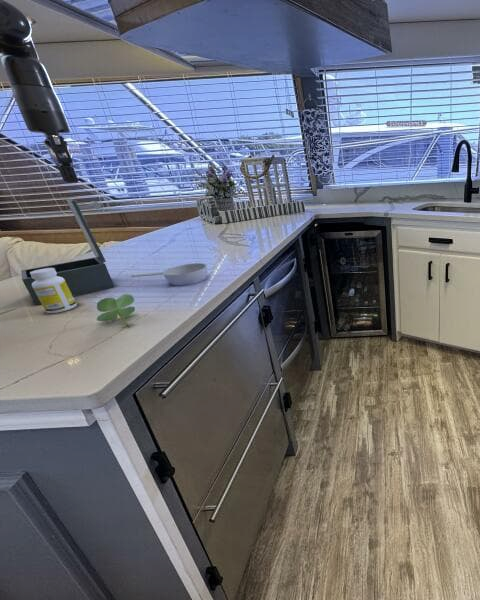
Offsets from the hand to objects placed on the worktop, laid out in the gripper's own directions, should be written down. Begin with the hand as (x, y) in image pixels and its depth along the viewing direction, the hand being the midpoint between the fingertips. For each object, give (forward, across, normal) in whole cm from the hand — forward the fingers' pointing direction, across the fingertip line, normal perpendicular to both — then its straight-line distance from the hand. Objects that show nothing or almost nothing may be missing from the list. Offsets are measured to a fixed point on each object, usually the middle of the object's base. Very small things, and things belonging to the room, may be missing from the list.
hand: (71, 182), depth 83 cm
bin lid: (+12, -1, -1) cm, 13 cm away
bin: (+28, -1, -8) cm, 29 cm away
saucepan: (+28, +16, +12) cm, 34 cm away
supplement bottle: (+28, +15, -12) cm, 34 cm away
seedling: (+28, +36, -4) cm, 46 cm away
